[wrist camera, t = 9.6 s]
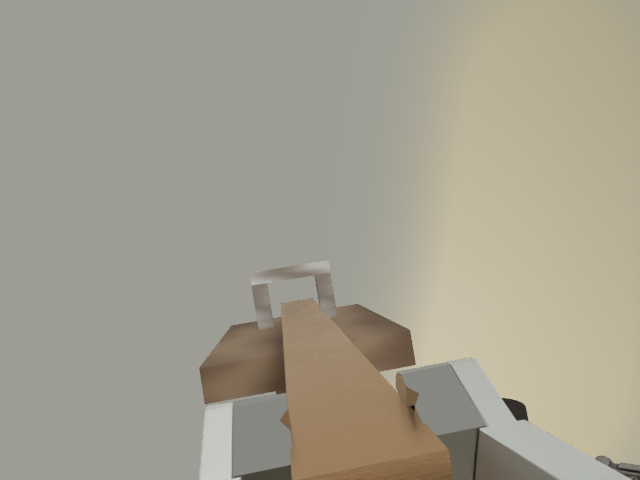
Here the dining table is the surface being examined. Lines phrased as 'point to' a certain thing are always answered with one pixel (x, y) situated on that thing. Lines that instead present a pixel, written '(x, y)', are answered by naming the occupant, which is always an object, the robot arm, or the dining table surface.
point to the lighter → (622, 468)
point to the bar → (348, 409)
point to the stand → (267, 339)
